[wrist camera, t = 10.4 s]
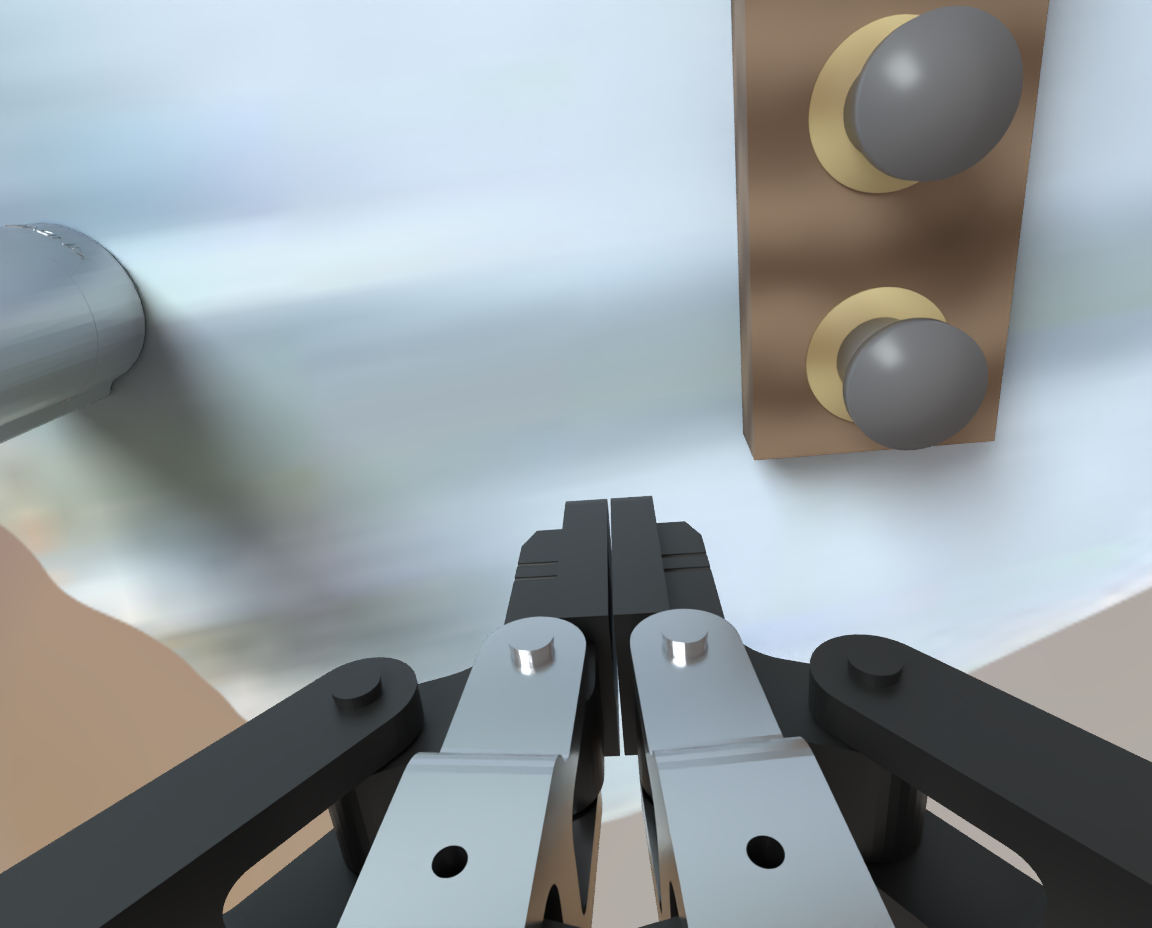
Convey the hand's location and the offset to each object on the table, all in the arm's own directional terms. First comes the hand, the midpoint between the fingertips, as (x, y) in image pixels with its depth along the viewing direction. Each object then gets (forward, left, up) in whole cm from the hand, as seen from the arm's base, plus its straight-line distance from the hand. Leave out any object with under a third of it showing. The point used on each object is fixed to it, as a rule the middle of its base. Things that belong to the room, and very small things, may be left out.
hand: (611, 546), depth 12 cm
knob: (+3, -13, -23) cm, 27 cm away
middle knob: (+12, -7, -23) cm, 27 cm away
